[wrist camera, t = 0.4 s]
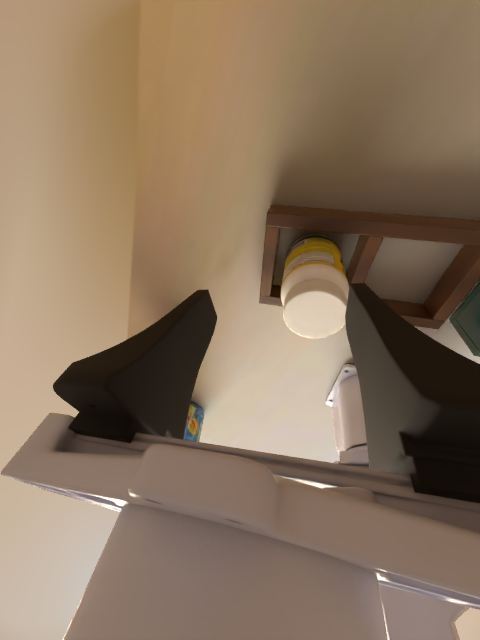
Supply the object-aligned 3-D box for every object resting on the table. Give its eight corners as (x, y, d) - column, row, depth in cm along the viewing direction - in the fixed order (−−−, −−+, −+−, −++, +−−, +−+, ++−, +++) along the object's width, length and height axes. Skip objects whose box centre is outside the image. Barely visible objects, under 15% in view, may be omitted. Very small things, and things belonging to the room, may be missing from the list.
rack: (428, 314, 22) (438, 329, 20) (262, 291, 24) (259, 303, 23) (496, 221, 16) (517, 233, 14) (270, 204, 19) (267, 212, 17)
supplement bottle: (333, 283, 22) (343, 347, 16) (284, 279, 23) (274, 339, 17) (346, 233, 19) (365, 288, 13) (288, 231, 20) (279, 281, 13)
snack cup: (161, 379, 41) (128, 436, 34) (216, 396, 41) (195, 458, 34) (164, 415, 52) (140, 465, 45) (208, 429, 52) (191, 482, 44)
